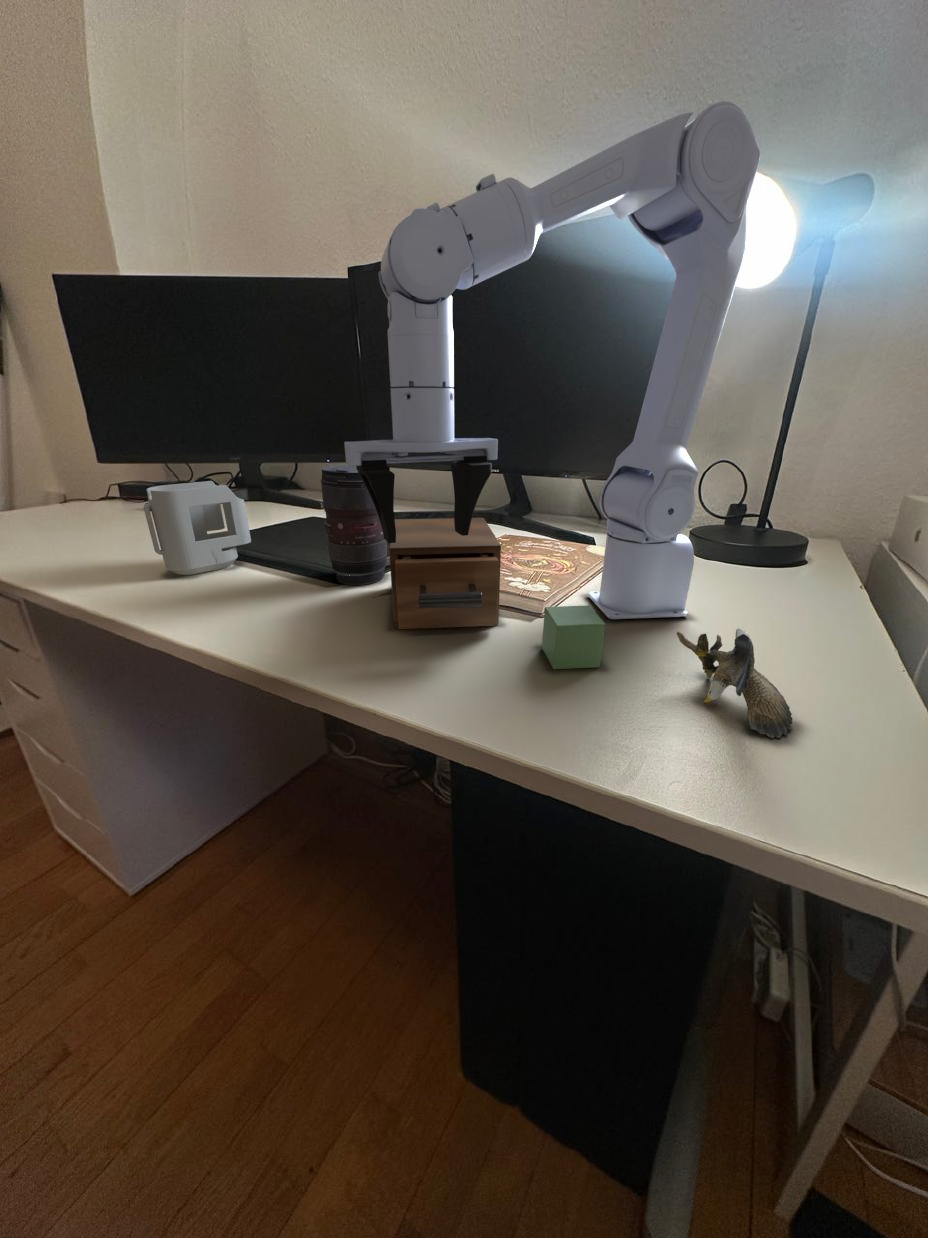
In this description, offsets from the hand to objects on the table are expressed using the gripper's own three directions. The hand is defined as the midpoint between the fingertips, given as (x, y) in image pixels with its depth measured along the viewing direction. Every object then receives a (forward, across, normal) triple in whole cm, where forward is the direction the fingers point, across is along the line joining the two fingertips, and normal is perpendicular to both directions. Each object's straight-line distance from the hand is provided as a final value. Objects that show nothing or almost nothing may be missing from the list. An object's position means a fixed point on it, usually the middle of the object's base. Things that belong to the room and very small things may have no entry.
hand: (426, 536), depth 50 cm
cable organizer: (+10, +23, -33) cm, 42 cm away
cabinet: (+10, -4, -6) cm, 13 cm away
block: (+10, -11, +11) cm, 19 cm away
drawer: (+9, -3, -2) cm, 10 cm away
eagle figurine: (+10, -18, +23) cm, 31 cm away
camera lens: (+10, +3, -20) cm, 23 cm away
